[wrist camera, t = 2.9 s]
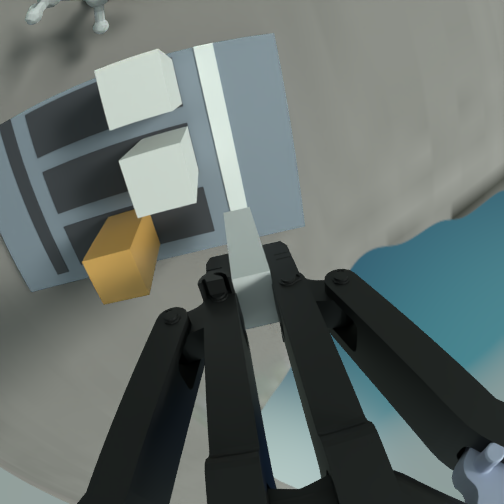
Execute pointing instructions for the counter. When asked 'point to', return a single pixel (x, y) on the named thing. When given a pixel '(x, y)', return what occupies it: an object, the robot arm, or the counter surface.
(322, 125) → the counter surface
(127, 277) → the toggle
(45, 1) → the molecular model
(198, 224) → the breaker panel
